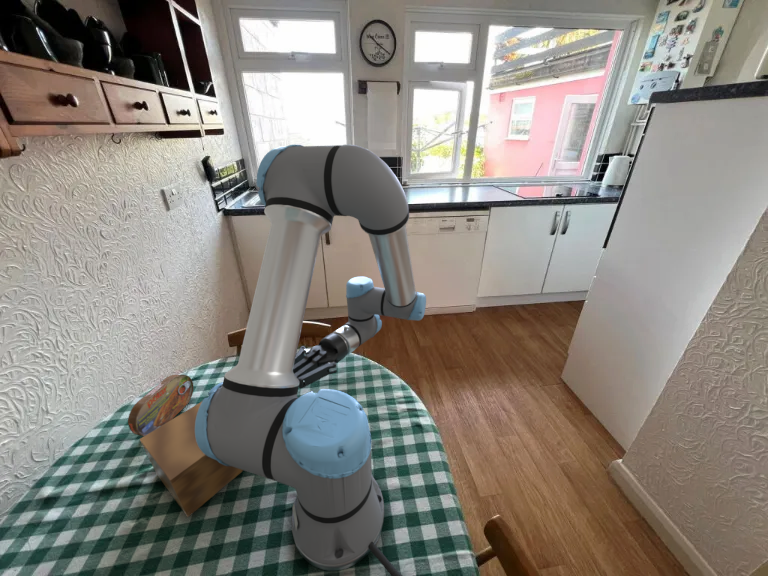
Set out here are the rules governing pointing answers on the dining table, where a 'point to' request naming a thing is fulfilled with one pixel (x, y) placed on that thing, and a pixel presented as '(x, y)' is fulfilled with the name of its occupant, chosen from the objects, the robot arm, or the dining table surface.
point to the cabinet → (185, 462)
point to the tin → (160, 404)
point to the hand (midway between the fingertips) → (263, 397)
